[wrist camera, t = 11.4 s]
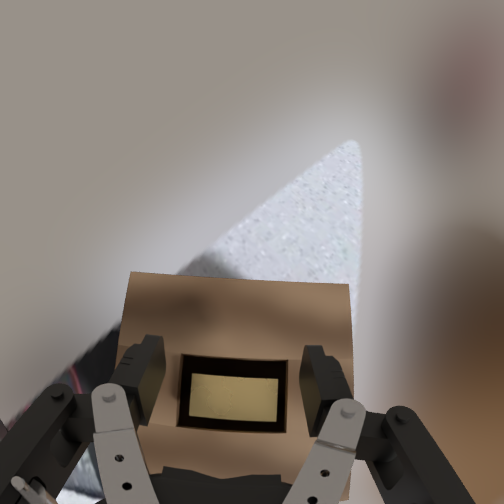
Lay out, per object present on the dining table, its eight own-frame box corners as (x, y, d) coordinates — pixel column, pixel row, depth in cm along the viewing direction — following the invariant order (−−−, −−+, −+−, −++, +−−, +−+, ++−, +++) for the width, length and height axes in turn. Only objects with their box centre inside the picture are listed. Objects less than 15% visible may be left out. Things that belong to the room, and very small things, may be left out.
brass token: (264, 411, 24) (276, 421, 15) (208, 407, 24) (189, 415, 15) (265, 383, 25) (278, 379, 16) (210, 380, 25) (192, 373, 16)
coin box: (305, 463, 26) (348, 499, 14) (158, 454, 26) (109, 485, 14) (307, 328, 34) (348, 283, 21) (169, 320, 33) (130, 271, 21)
